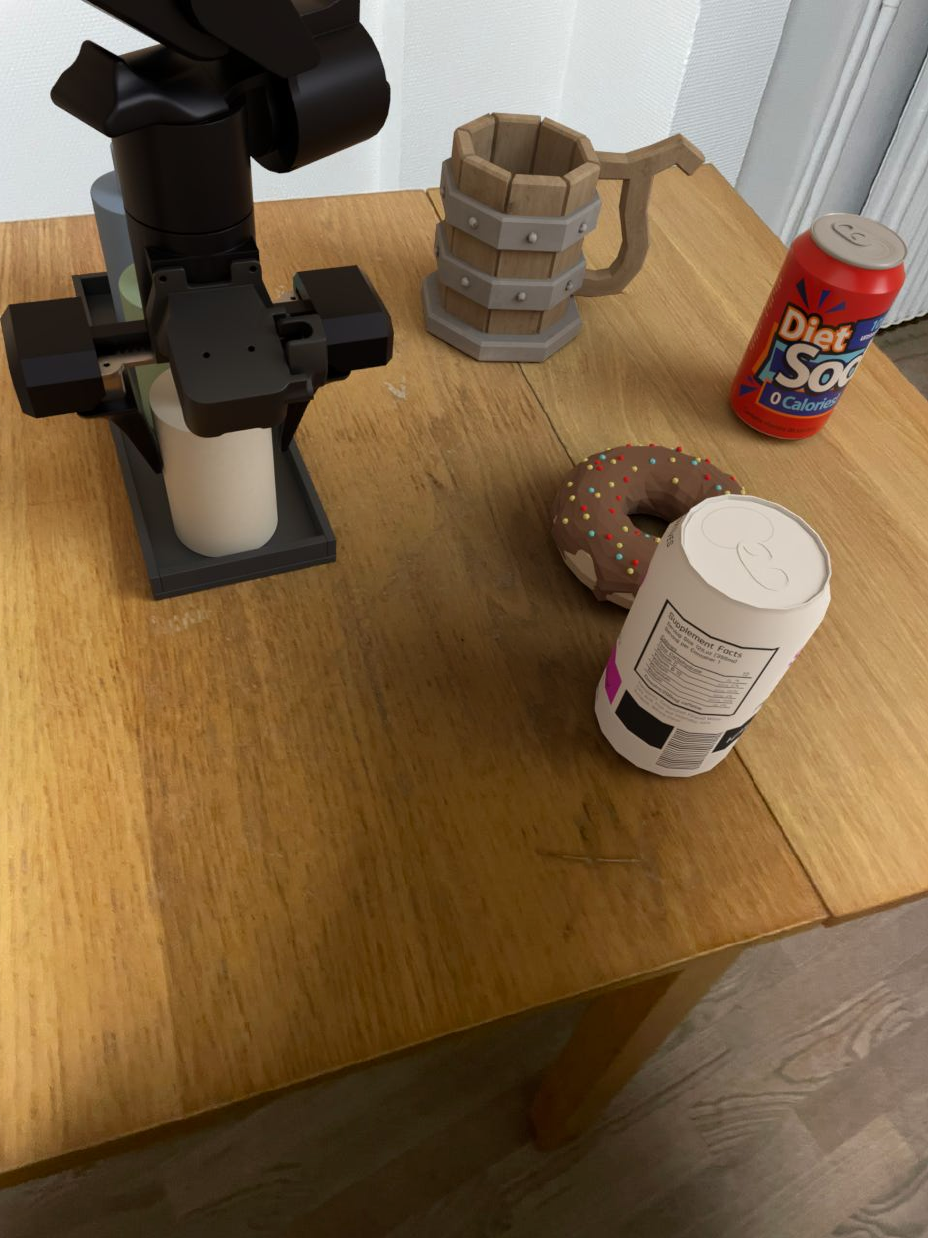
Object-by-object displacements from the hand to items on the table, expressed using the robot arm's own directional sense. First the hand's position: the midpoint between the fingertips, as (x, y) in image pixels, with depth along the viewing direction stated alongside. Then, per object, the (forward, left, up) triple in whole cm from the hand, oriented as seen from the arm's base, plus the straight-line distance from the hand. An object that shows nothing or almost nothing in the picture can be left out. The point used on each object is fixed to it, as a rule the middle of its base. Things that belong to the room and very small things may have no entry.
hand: (221, 458), depth 53 cm
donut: (+26, -9, -6) cm, 28 cm away
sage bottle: (0, +11, -5) cm, 12 cm away
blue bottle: (0, +22, -5) cm, 23 cm away
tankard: (+30, +17, -6) cm, 35 cm away
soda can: (+43, +1, -6) cm, 44 cm away
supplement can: (+20, -21, -6) cm, 30 cm away
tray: (0, +11, -6) cm, 13 cm away
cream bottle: (0, 0, -5) cm, 5 cm away
